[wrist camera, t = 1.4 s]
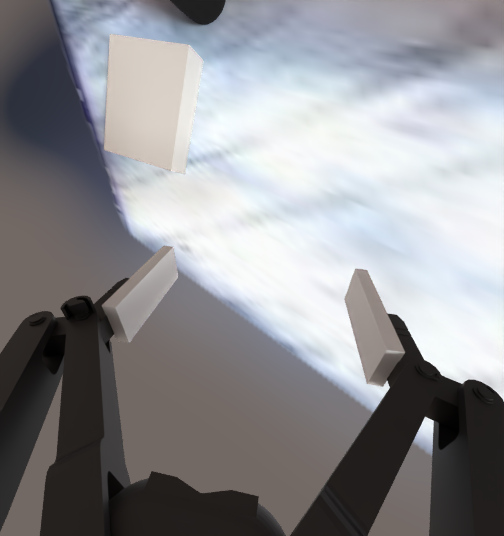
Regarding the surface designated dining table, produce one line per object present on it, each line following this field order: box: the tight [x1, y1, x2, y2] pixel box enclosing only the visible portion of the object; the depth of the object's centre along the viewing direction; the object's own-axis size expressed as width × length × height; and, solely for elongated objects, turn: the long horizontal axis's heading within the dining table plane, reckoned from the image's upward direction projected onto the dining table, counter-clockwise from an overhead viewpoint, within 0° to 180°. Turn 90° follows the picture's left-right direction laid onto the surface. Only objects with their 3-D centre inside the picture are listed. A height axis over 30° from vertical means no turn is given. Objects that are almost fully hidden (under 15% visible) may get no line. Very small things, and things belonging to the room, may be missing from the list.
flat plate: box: [104, 34, 204, 174], centre depth 41 cm, size 18×16×4 cm
